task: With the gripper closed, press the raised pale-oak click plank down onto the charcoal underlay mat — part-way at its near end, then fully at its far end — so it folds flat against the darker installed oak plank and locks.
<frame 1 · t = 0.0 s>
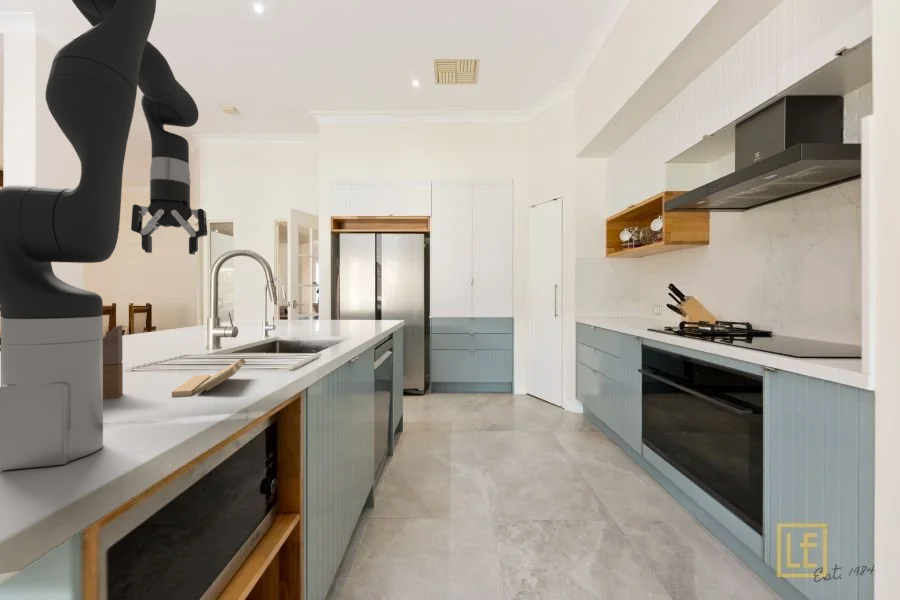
hand: (170, 253, 95), 29 cm above the countertop, fingers open, 8 cm apart
click plank: (222, 374, 88), point 3 cm above the countertop, hinge at 32.0°
wooden block: (83, 405, 76), on the countertop
floor section: (215, 389, 88), on the countertop
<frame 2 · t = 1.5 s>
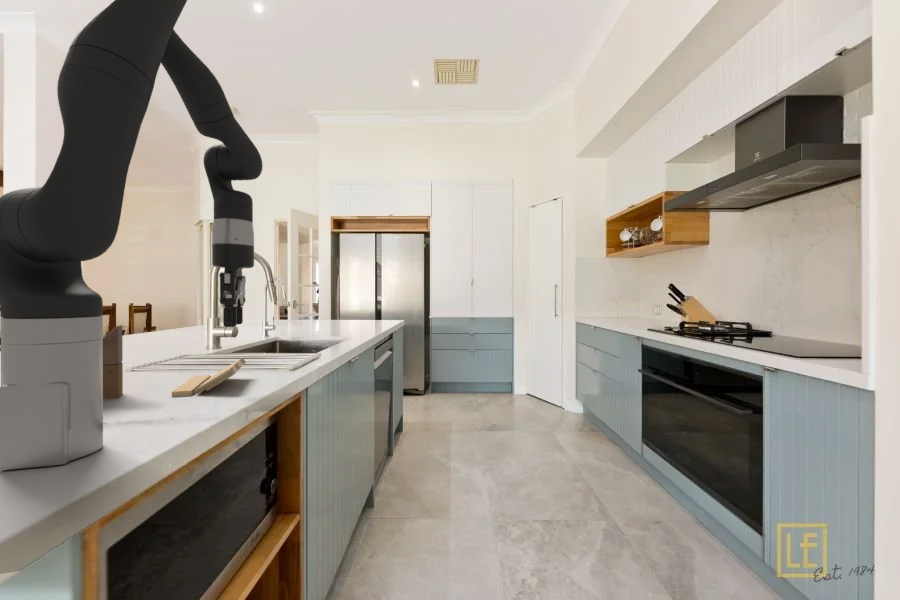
hand: (233, 325, 84), 14 cm above the countertop, fingers open, 7 cm apart
nothing on the countertop moved.
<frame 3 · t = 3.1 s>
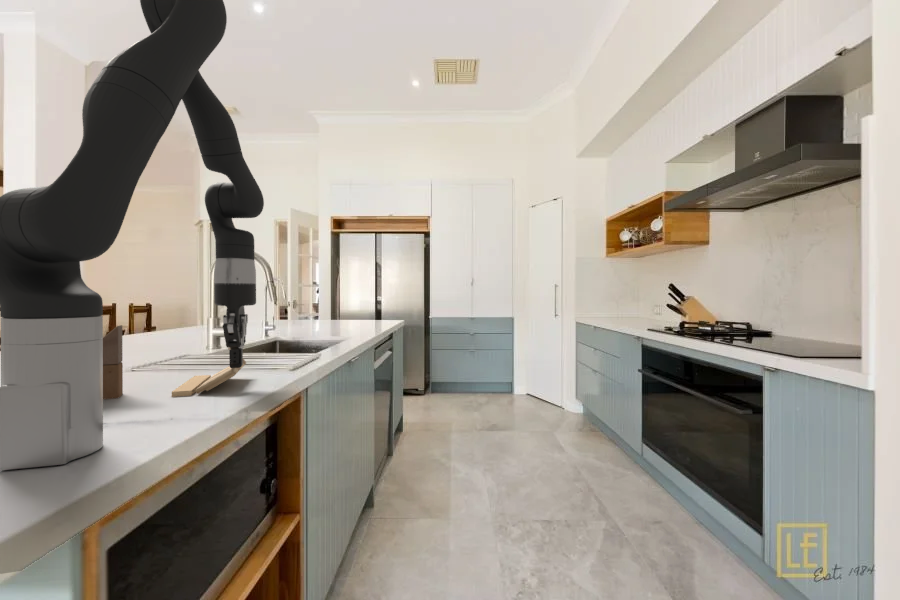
hand: (236, 367, 85), 5 cm above the countertop, fingers closed
click plank: (223, 375, 88), point 3 cm above the countertop, hinge at 30.3°, touching gripper
everything else where it was.
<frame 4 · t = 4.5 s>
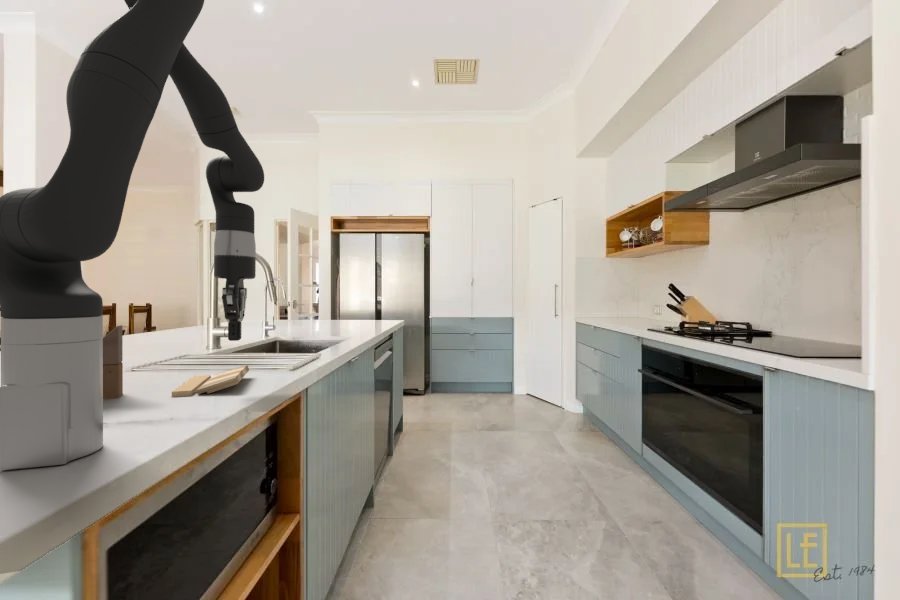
hand: (234, 340, 85), 11 cm above the countertop, fingers closed
click plank: (225, 379, 88), point 2 cm above the countertop, hinge at 16.7°
everything else where it was.
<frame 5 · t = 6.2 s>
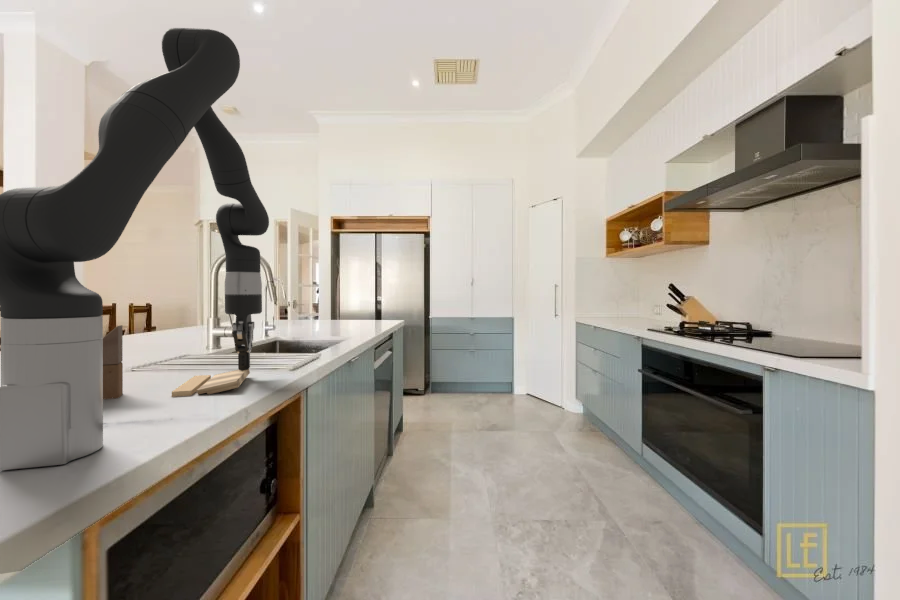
hand: (244, 369, 94), 3 cm above the countertop, fingers closed
click plank: (225, 380, 88), point 2 cm above the countertop, hinge at 11.2°, touching gripper
everything else where it was.
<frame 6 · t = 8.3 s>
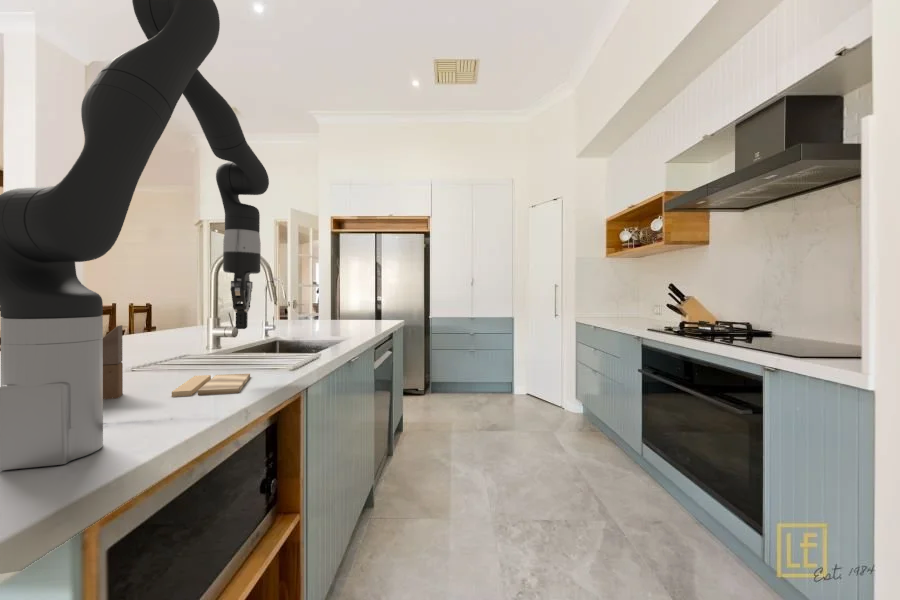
hand: (241, 328, 94), 12 cm above the countertop, fingers closed
click plank: (226, 384, 88), point 1 cm above the countertop, hinge at -0.5°, touching floor section
everything else where it was.
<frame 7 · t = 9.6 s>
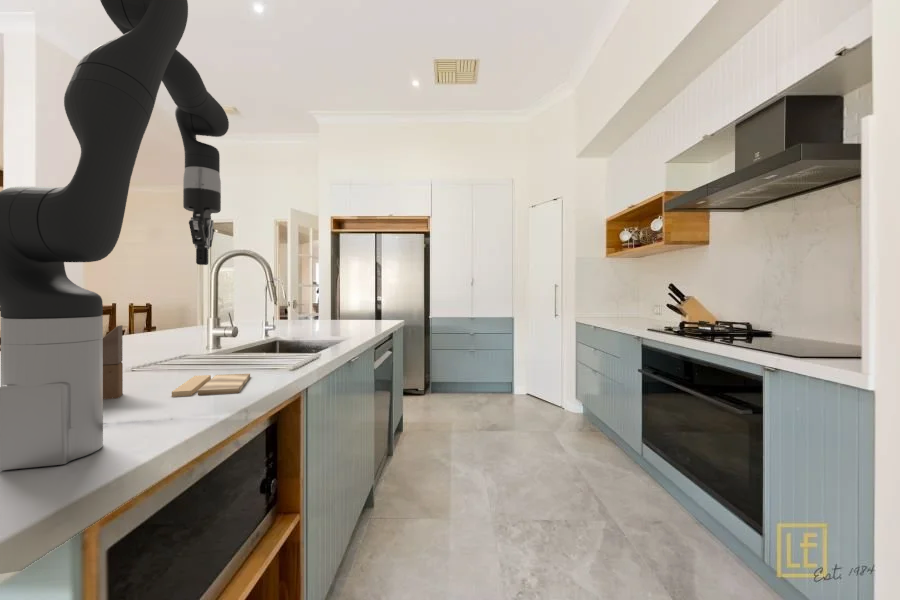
hand: (202, 264, 97), 27 cm above the countertop, fingers closed
nothing on the countertop moved.
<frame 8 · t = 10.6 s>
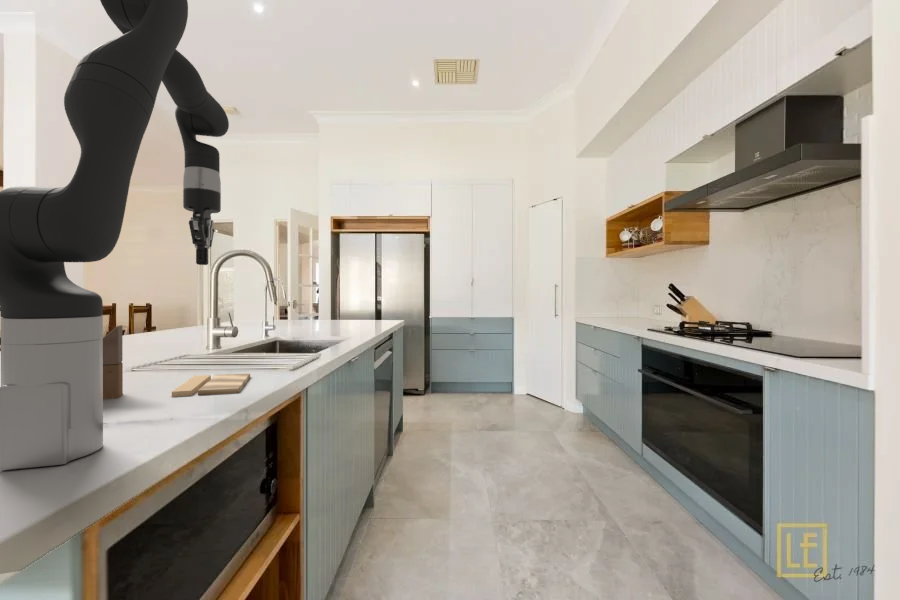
hand: (202, 264, 97), 27 cm above the countertop, fingers closed
nothing on the countertop moved.
at the end: click plank at +0° (first picture: +32°) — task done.
